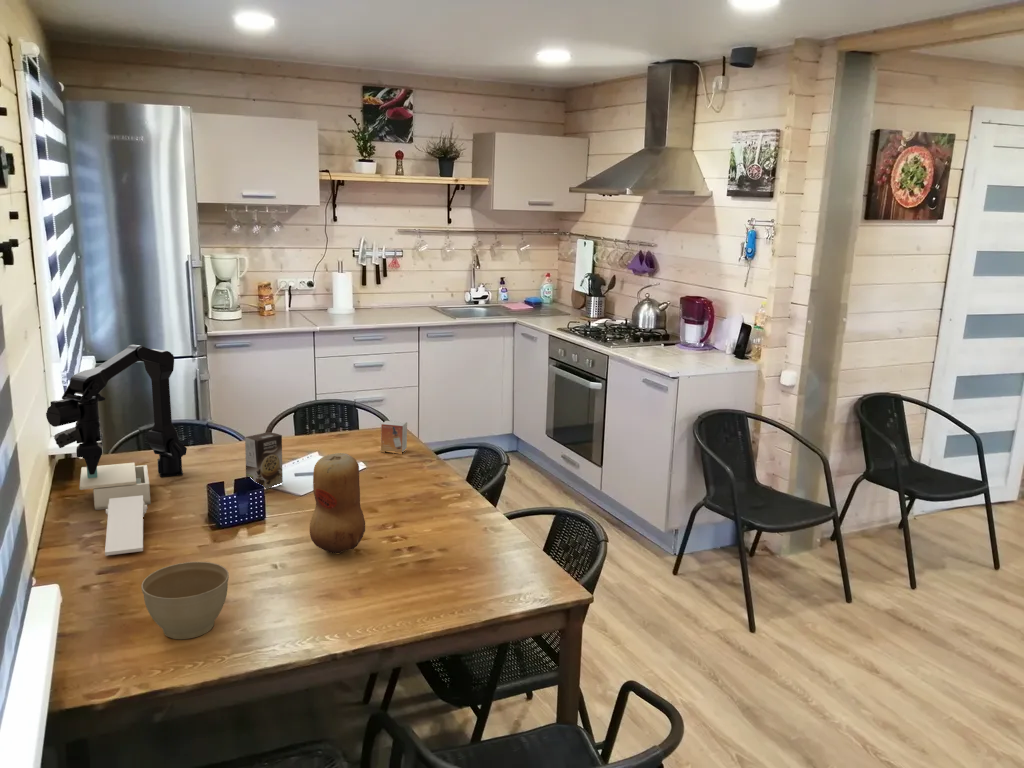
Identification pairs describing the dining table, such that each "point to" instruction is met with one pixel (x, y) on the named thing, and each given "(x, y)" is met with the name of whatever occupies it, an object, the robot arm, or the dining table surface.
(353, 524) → the butternut squash
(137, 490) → the carton
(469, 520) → the dining table surface
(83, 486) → the cover panel
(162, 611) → the planter bowl
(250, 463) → the coffee box
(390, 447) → the small box
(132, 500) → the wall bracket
